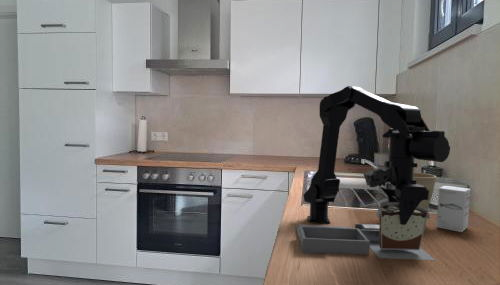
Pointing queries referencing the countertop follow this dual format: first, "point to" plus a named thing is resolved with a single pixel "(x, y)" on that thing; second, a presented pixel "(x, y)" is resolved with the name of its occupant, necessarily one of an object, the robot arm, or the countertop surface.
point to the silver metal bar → (370, 227)
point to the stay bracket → (369, 233)
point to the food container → (400, 227)
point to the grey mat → (400, 253)
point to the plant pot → (427, 182)
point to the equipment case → (332, 239)
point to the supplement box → (453, 208)
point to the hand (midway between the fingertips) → (398, 220)
